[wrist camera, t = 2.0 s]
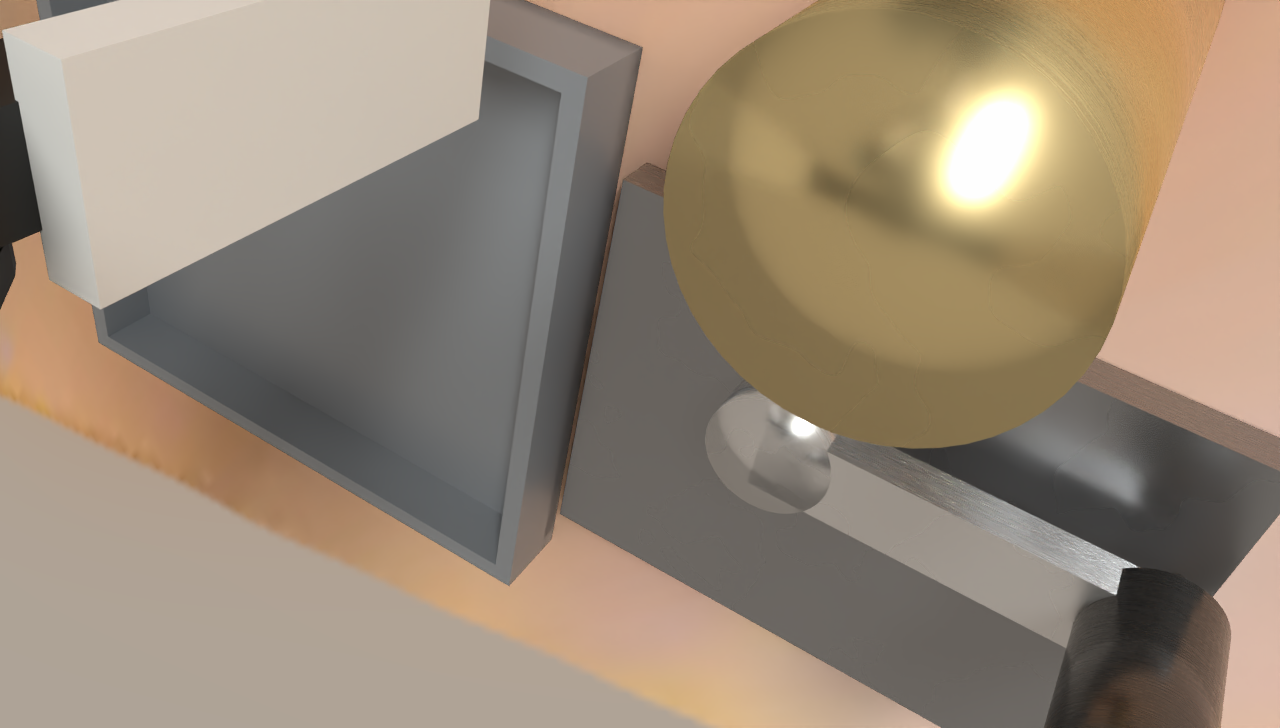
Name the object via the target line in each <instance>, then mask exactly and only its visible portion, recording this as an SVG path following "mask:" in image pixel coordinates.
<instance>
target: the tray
mask: <svg viewBox="0 0 1280 728" xmlns="http://www.w3.org/2000/svg"><path fill="white" fill-rule="evenodd" d="M36 1H37V6H38V12H39V17H40V20H44V19H48V18H52V17H55V16H59V15H63V14H67V13H71V12H75V11H79V10H83V9H87V8H91V7H95V6H98V5H102V4H106V3H110V2H114V1H118V0H36ZM642 48H643V47H640V46H638V45H635V44H633V43H630V42H628V41H625V40H623V39H620V38H618V37H615V36H613V35H610V34H608V33H605V32H603V31H600V30H598V29H595V28H593V27H590V26H588V25H585V24H583V23H580V22H578V21H575V20H573V19H570V18H568V17H565V16H563V15H560V14H558V13H555V12H553V11H550V10H548V9H545V8H543V7H540V6H538V5H535V4H533V3H530V2H528V1H525V0H490V8H489V18H488V28H487V38H486V48H485V58H484V68H483V79H482V89H481V99H480V109H479V119H478V120H476V121H474V122H472V123H470V124H468V125H466V126H464V127H462V128H460V129H458V130H456V131H454V132H453V133H451V134H449V135H447V136H445V137H443V138H441V139H439V140H437V141H435V142H433V143H431V144H429V145H427V146H425V147H423V148H421V149H419V150H417V151H415V152H413V153H411V154H409V155H407V156H405V157H403V158H401V159H399V160H397V161H395V162H393V163H391V164H389V165H387V166H385V167H383V168H381V169H379V170H377V171H375V172H373V173H371V174H369V175H367V176H365V177H363V178H361V179H359V180H357V181H355V182H353V183H351V184H349V185H347V186H345V187H343V188H341V189H339V190H337V191H335V192H333V193H331V194H329V195H327V196H325V197H323V198H321V199H319V200H317V201H315V202H313V203H311V204H309V205H307V206H305V207H303V208H301V209H299V210H297V211H295V212H294V213H292V214H290V215H288V216H286V217H284V218H282V219H280V220H278V221H276V222H274V223H272V224H270V225H268V226H266V227H264V228H262V229H260V230H258V231H256V232H254V233H252V234H250V235H248V236H246V237H244V238H242V239H240V240H238V241H236V242H234V243H232V244H230V245H228V246H226V247H224V248H222V249H220V250H218V251H216V252H214V253H212V254H210V255H208V256H206V257H204V258H202V259H200V260H198V261H196V262H194V263H192V264H190V265H188V266H186V267H184V268H182V269H180V270H178V271H176V272H174V273H172V274H170V275H168V276H166V277H164V278H162V279H160V280H158V281H156V282H154V283H152V284H150V285H148V286H146V287H144V288H142V289H140V290H138V291H136V292H135V293H133V294H131V295H129V296H127V297H125V298H123V299H121V300H119V301H117V302H115V303H113V304H111V305H109V306H107V307H105V308H103V309H101V310H100V309H99V308H97V307H95V306H94V305H92V308H93V314H94V319H95V325H96V330H97V336H98V341H99V343H100V344H102V345H104V346H105V347H107V348H109V349H111V350H112V351H114V352H116V353H117V354H119V355H121V356H122V357H124V358H126V359H127V360H129V361H131V362H132V363H134V364H136V365H137V366H139V367H141V368H143V369H144V370H146V371H148V372H149V373H151V374H153V375H154V376H156V377H158V378H159V379H161V380H163V381H164V382H166V383H168V384H170V385H171V386H173V387H175V388H176V389H178V390H180V391H181V392H183V393H185V394H186V395H188V396H190V397H191V398H193V399H195V400H196V401H198V402H200V403H202V404H203V405H205V406H207V407H208V408H210V409H212V410H213V411H215V412H217V413H218V414H220V415H222V416H223V417H225V418H227V419H228V420H230V421H232V422H234V423H235V424H237V425H239V426H240V427H242V428H244V429H245V430H247V431H249V432H250V433H252V434H254V435H255V436H257V437H259V438H261V439H262V440H264V441H266V442H267V443H269V444H271V445H272V446H274V447H276V448H277V449H279V450H281V451H282V452H284V453H286V454H287V455H289V456H291V457H293V458H294V459H296V460H298V461H299V462H301V463H303V464H304V465H306V466H308V467H309V468H311V469H313V470H314V471H316V472H318V473H319V474H321V475H323V476H325V477H326V478H328V479H330V480H331V481H333V482H335V483H336V484H338V485H340V486H341V487H343V488H345V489H346V490H348V491H350V492H352V493H353V494H355V495H357V496H358V497H360V498H362V499H363V500H365V501H367V502H368V503H370V504H372V505H373V506H375V507H377V508H378V509H380V510H382V511H384V512H385V513H387V514H389V515H390V516H392V517H394V518H395V519H397V520H399V521H400V522H402V523H404V524H405V525H407V526H409V527H410V528H412V529H414V530H416V531H417V532H419V533H421V534H422V535H424V536H426V537H427V538H429V539H431V540H432V541H434V542H436V543H437V544H439V545H441V546H442V547H444V548H446V549H448V550H449V551H451V552H453V553H454V554H456V555H458V556H459V557H461V558H463V559H464V560H466V561H468V562H469V563H471V564H473V565H475V566H476V567H478V568H480V569H481V570H483V571H485V572H486V573H488V574H490V575H491V576H493V577H495V578H496V579H498V580H500V581H501V582H503V583H505V584H507V585H508V586H509V585H510V584H511V583H512V582H513V581H514V580H515V579H516V578H517V577H518V576H519V574H520V573H521V572H522V571H523V570H524V569H525V568H526V567H527V566H528V564H529V563H530V562H531V561H532V560H533V559H534V558H535V557H536V556H537V555H538V553H539V552H540V551H541V550H542V549H543V548H544V547H545V546H546V545H547V543H548V542H549V541H550V540H551V538H552V533H553V527H554V522H555V517H556V511H557V506H558V500H559V495H560V490H561V484H562V479H563V474H564V468H565V463H566V457H567V452H568V447H569V441H570V436H571V431H572V425H573V420H574V414H575V409H576V404H577V398H578V393H579V387H580V382H581V377H582V371H583V366H584V361H585V355H586V350H587V344H588V339H589V334H590V328H591V323H592V317H593V312H594V307H595V301H596V296H597V291H598V285H599V280H600V274H601V269H602V264H603V258H604V253H605V248H606V242H607V237H608V231H609V226H610V221H611V215H612V210H613V204H614V199H615V194H616V188H617V183H618V178H619V172H620V167H621V161H622V156H623V151H624V145H625V140H626V135H627V129H628V124H629V118H630V113H631V108H632V102H633V97H634V91H635V86H636V81H637V75H638V70H639V65H640V59H641V54H642Z"/></svg>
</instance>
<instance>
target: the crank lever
mask: <svg viewBox="0 0 1280 728" xmlns="http://www.w3.org/2000/svg"><path fill="white" fill-rule="evenodd" d="M705 445H706V451H707V455H708V458H709V461H710V463H711V465H712V467H713V469H714V471H715V473H716V474H717V476H718V477H719V478H720V480H721V481H722V482H723V483H724V484H725V485H726V486H727V488H728V489H729V490H731V491H732V492H733V493H734V494H735V495H737V496H738V497H739V498H741V499H742V500H744V501H745V502H747V503H749V504H751V505H753V506H755V507H757V508H760V509H762V510H765V511H769V512H773V513H781V514H792V513H799V512H802V511H803V512H805V513H807V514H808V515H810V516H812V517H814V518H816V519H818V520H820V521H822V522H824V523H826V524H828V525H830V526H832V527H834V528H835V529H837V530H839V531H841V532H843V533H845V534H847V535H849V536H851V537H853V538H855V539H857V540H859V541H861V542H862V543H864V544H866V545H868V546H870V547H872V548H874V549H876V550H878V551H880V552H882V553H884V554H886V555H887V556H889V557H891V558H893V559H895V560H897V561H899V562H901V563H903V564H905V565H907V566H909V567H911V568H913V569H914V570H916V571H918V572H920V573H922V574H924V575H926V576H928V577H930V578H932V579H934V580H936V581H938V582H939V583H941V584H943V585H945V586H947V587H949V588H951V589H953V590H955V591H957V592H959V593H961V594H963V595H965V596H966V597H968V598H970V599H972V600H974V601H976V602H978V603H980V604H982V605H984V606H986V607H988V608H990V609H992V610H993V611H995V612H997V613H999V614H1001V615H1003V616H1005V617H1007V618H1009V619H1011V620H1013V621H1015V622H1017V623H1018V624H1020V625H1022V626H1024V627H1026V628H1028V629H1030V630H1032V631H1034V632H1036V633H1038V634H1040V635H1042V636H1044V637H1045V638H1047V639H1049V640H1051V641H1053V642H1055V643H1057V644H1059V645H1061V646H1063V647H1065V648H1066V651H1065V654H1064V658H1063V661H1062V665H1061V668H1060V672H1059V675H1058V679H1057V683H1056V686H1055V690H1054V693H1053V697H1052V700H1051V704H1050V707H1049V711H1048V714H1047V718H1046V722H1045V725H1044V728H1221V719H1222V711H1223V702H1224V693H1225V685H1226V676H1227V667H1228V659H1229V650H1230V641H1231V629H1230V624H1229V621H1228V618H1227V616H1226V614H1225V612H1224V611H1223V609H1222V608H1221V606H1220V605H1219V604H1218V602H1217V601H1216V600H1215V599H1214V598H1213V597H1212V596H1211V595H1210V594H1209V593H1207V592H1206V591H1205V590H1204V589H1202V588H1201V587H1199V586H1198V585H1196V584H1195V583H1193V582H1191V581H1189V580H1187V579H1185V578H1183V577H1181V576H1178V575H1176V574H1173V573H1170V572H1167V571H1162V570H1158V569H1151V568H1140V567H1138V566H1136V565H1134V564H1132V563H1130V562H1128V561H1126V560H1124V559H1122V558H1120V557H1118V556H1116V555H1114V554H1111V553H1109V552H1107V551H1105V550H1103V549H1101V548H1099V547H1097V546H1095V545H1093V544H1091V543H1089V542H1087V541H1085V540H1083V539H1081V538H1079V537H1077V536H1074V535H1072V534H1070V533H1068V532H1066V531H1064V530H1062V529H1060V528H1058V527H1056V526H1054V525H1052V524H1050V523H1048V522H1046V521H1044V520H1042V519H1040V518H1037V517H1035V516H1033V515H1031V514H1029V513H1027V512H1025V511H1023V510H1021V509H1019V508H1017V507H1015V506H1013V505H1011V504H1009V503H1007V502H1005V501H1003V500H1001V499H998V498H996V497H994V496H992V495H990V494H988V493H986V492H984V491H982V490H980V489H978V488H976V487H974V486H972V485H970V484H968V483H966V482H964V481H961V480H959V479H957V478H955V477H953V476H951V475H949V474H947V473H945V472H943V471H941V470H939V469H937V468H935V467H933V466H931V465H929V464H927V463H925V462H922V461H920V460H918V459H916V458H914V457H912V456H910V455H908V454H906V453H904V452H902V451H900V450H898V449H896V448H894V447H889V446H881V445H876V444H872V443H867V442H862V441H857V440H854V439H851V438H847V437H844V436H841V435H838V434H835V433H831V432H829V431H827V430H824V429H822V428H820V427H818V426H815V425H813V424H811V423H808V422H806V421H804V420H802V419H801V418H799V417H797V416H795V415H793V414H792V413H790V412H788V411H786V410H784V409H783V408H781V407H780V406H778V405H777V404H776V403H774V402H773V401H771V400H770V399H768V398H767V397H765V396H764V395H763V394H761V393H760V392H759V391H758V390H756V389H755V388H754V387H753V386H752V385H751V384H749V383H748V382H747V381H746V380H745V379H743V380H742V381H741V383H740V384H739V385H738V386H737V387H736V389H735V390H734V391H733V392H732V393H731V394H730V396H729V397H728V398H727V399H726V400H725V402H724V403H723V404H722V405H721V406H720V408H719V409H718V410H717V411H716V412H715V414H714V415H713V416H712V418H711V419H710V421H709V423H708V426H707V429H706V434H705Z"/></svg>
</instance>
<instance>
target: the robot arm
mask: <svg viewBox="0 0 1280 728" xmlns="http://www.w3.org/2000/svg"><path fill="white" fill-rule="evenodd" d="M489 8H490V0H118V1H114V2H110V3H106V4H102V5H98V6H95V7H91V8H87V9H83V10H79V11H75V12H71V13H67V14H63V15H59V16H55V17H52V18H48V19H44V20H40V21H36V22H32V23H28V24H24V25H20V26H16V27H12V28H8V29H5V30H2V33H3V38H2V39H0V309H1V306H2V304H3V302H4V300H5V297H6V295H7V293H8V291H9V288H10V286H11V284H12V282H13V279H14V277H15V270H16V261H15V256H14V251H13V247H12V243H13V242H15V241H18V240H20V239H23V238H25V237H27V236H30V235H32V234H34V233H37V232H39V231H40V233H41V238H42V244H43V249H44V254H45V260H46V265H47V270H48V275H49V280H51V281H52V282H54V283H56V284H57V285H59V286H61V287H63V288H64V289H66V290H68V291H69V292H71V293H73V294H75V295H76V296H78V297H80V298H82V299H83V300H85V301H87V302H88V303H90V304H92V305H94V306H95V307H97V308H99V309H100V310H101V309H103V308H105V307H107V306H109V305H111V304H113V303H115V302H117V301H119V300H121V299H123V298H125V297H127V296H129V295H131V294H133V293H135V292H136V291H138V290H140V289H142V288H144V287H146V286H148V285H150V284H152V283H154V282H156V281H158V280H160V279H162V278H164V277H166V276H168V275H170V274H172V273H174V272H176V271H178V270H180V269H182V268H184V267H186V266H188V265H190V264H192V263H194V262H196V261H198V260H200V259H202V258H204V257H206V256H208V255H210V254H212V253H214V252H216V251H218V250H220V249H222V248H224V247H226V246H228V245H230V244H232V243H234V242H236V241H238V240H240V239H242V238H244V237H246V236H248V235H250V234H252V233H254V232H256V231H258V230H260V229H262V228H264V227H266V226H268V225H270V224H272V223H274V222H276V221H278V220H280V219H282V218H284V217H286V216H288V215H290V214H292V213H294V212H295V211H297V210H299V209H301V208H303V207H305V206H307V205H309V204H311V203H313V202H315V201H317V200H319V199H321V198H323V197H325V196H327V195H329V194H331V193H333V192H335V191H337V190H339V189H341V188H343V187H345V186H347V185H349V184H351V183H353V182H355V181H357V180H359V179H361V178H363V177H365V176H367V175H369V174H371V173H373V172H375V171H377V170H379V169H381V168H383V167H385V166H387V165H389V164H391V163H393V162H395V161H397V160H399V159H401V158H403V157H405V156H407V155H409V154H411V153H413V152H415V151H417V150H419V149H421V148H423V147H425V146H427V145H429V144H431V143H433V142H435V141H437V140H439V139H441V138H443V137H445V136H447V135H449V134H451V133H453V132H454V131H456V130H458V129H460V128H462V127H464V126H466V125H468V124H470V123H472V122H474V121H476V120H478V119H479V109H480V99H481V89H482V79H483V68H484V58H485V48H486V38H487V28H488V18H489Z"/></svg>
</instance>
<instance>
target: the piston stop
mask: <svg viewBox="0 0 1280 728" xmlns="http://www.w3.org/2000/svg"><path fill="white" fill-rule="evenodd" d="M1224 3H1225V0H818V1H817V2H815V3H813V4H812V5H810V6H809V7H807V8H806V9H804V10H803V11H801V12H799V13H798V14H796V15H795V16H793V17H792V18H790V19H788V20H787V21H785V22H784V23H782V24H781V25H779V26H778V27H776V28H774V29H773V30H771V31H770V32H768V33H767V34H765V35H764V36H762V37H760V38H759V39H757V40H756V41H754V42H753V43H751V44H750V45H748V46H746V47H745V48H743V49H742V50H740V51H739V52H738V53H736V54H735V55H734V56H733V57H732V58H731V59H730V60H728V61H727V62H726V63H725V64H724V65H723V66H722V67H720V68H719V69H718V70H717V71H716V72H715V74H714V75H713V76H712V77H711V78H710V79H709V81H708V82H707V83H706V84H705V85H704V86H703V88H702V89H701V90H700V91H699V93H698V95H697V96H696V98H695V99H694V101H693V102H692V104H691V106H690V107H689V109H688V110H687V112H686V114H685V116H684V118H683V120H682V123H681V125H680V127H679V129H678V132H677V134H676V136H675V139H674V142H673V146H672V149H671V153H670V156H669V160H668V163H667V170H666V177H665V184H664V205H663V216H664V225H665V235H666V242H667V246H668V251H669V255H670V259H671V264H672V267H673V270H674V273H675V276H676V278H677V281H678V284H679V287H680V290H681V292H682V294H683V296H684V298H685V300H686V302H687V304H688V306H689V308H690V310H691V313H692V314H693V316H694V318H695V319H696V321H697V322H698V324H699V326H700V327H701V329H702V330H703V332H704V334H705V335H706V337H707V338H708V339H709V340H710V342H711V343H712V344H713V346H714V347H715V348H716V349H717V351H718V352H719V353H720V355H721V356H722V357H723V358H724V359H725V360H726V361H727V362H728V363H729V364H730V365H731V366H732V368H733V369H734V370H735V371H736V372H737V373H738V374H739V375H740V376H741V377H742V378H744V379H745V380H746V381H747V382H748V383H749V384H751V385H752V386H753V387H754V388H755V389H756V390H758V391H759V392H760V393H761V394H763V395H764V396H765V397H767V398H768V399H770V400H771V401H773V402H774V403H776V404H777V405H778V406H780V407H781V408H783V409H784V410H786V411H788V412H790V413H792V414H793V415H795V416H797V417H799V418H801V419H802V420H804V421H806V422H808V423H811V424H813V425H815V426H818V427H820V428H822V429H824V430H827V431H829V432H831V433H835V434H838V435H841V436H844V437H847V438H851V439H854V440H857V441H862V442H867V443H872V444H876V445H881V446H889V447H900V448H911V449H914V448H942V447H949V446H956V445H963V444H969V443H972V442H976V441H980V440H983V439H987V438H991V437H994V436H996V435H999V434H1001V433H1004V432H1006V431H1009V430H1011V429H1013V428H1016V427H1018V426H1020V425H1022V424H1023V423H1025V422H1027V421H1029V420H1030V419H1032V418H1034V417H1035V416H1037V415H1039V414H1041V413H1042V412H1044V411H1045V410H1046V409H1047V408H1049V407H1050V406H1051V405H1053V404H1054V403H1055V402H1056V401H1058V400H1059V399H1060V398H1061V397H1063V396H1064V395H1065V394H1066V393H1067V392H1068V391H1069V390H1070V389H1071V388H1072V387H1073V385H1074V384H1075V383H1076V382H1077V381H1078V380H1079V379H1080V378H1081V377H1082V376H1083V375H1084V374H1085V372H1086V371H1087V369H1088V368H1089V366H1090V365H1091V363H1092V362H1093V360H1094V359H1095V358H1096V356H1097V355H1098V353H1099V352H1100V350H1101V348H1102V346H1103V344H1104V342H1105V340H1106V338H1107V336H1108V333H1109V331H1110V329H1111V327H1112V325H1113V323H1114V320H1115V317H1116V314H1117V311H1118V308H1119V306H1120V303H1121V300H1122V297H1123V294H1124V291H1125V288H1126V286H1127V283H1128V280H1129V277H1130V274H1131V271H1132V268H1133V266H1134V263H1135V260H1136V257H1137V254H1138V251H1139V248H1140V246H1141V243H1142V240H1143V237H1144V234H1145V231H1146V228H1147V226H1148V223H1149V220H1150V217H1151V214H1152V211H1153V208H1154V206H1155V203H1156V200H1157V197H1158V194H1159V191H1160V188H1161V185H1162V183H1163V180H1164V177H1165V174H1166V171H1167V168H1168V165H1169V163H1170V160H1171V157H1172V154H1173V151H1174V148H1175V145H1176V143H1177V140H1178V137H1179V134H1180V131H1181V128H1182V125H1183V123H1184V120H1185V117H1186V114H1187V111H1188V108H1189V105H1190V103H1191V100H1192V97H1193V94H1194V91H1195V88H1196V85H1197V83H1198V80H1199V77H1200V74H1201V71H1202V68H1203V65H1204V63H1205V60H1206V57H1207V54H1208V51H1209V48H1210V45H1211V43H1212V40H1213V37H1214V34H1215V31H1216V28H1217V25H1218V23H1219V19H1220V16H1221V13H1222V9H1223V6H1224Z"/></svg>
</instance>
